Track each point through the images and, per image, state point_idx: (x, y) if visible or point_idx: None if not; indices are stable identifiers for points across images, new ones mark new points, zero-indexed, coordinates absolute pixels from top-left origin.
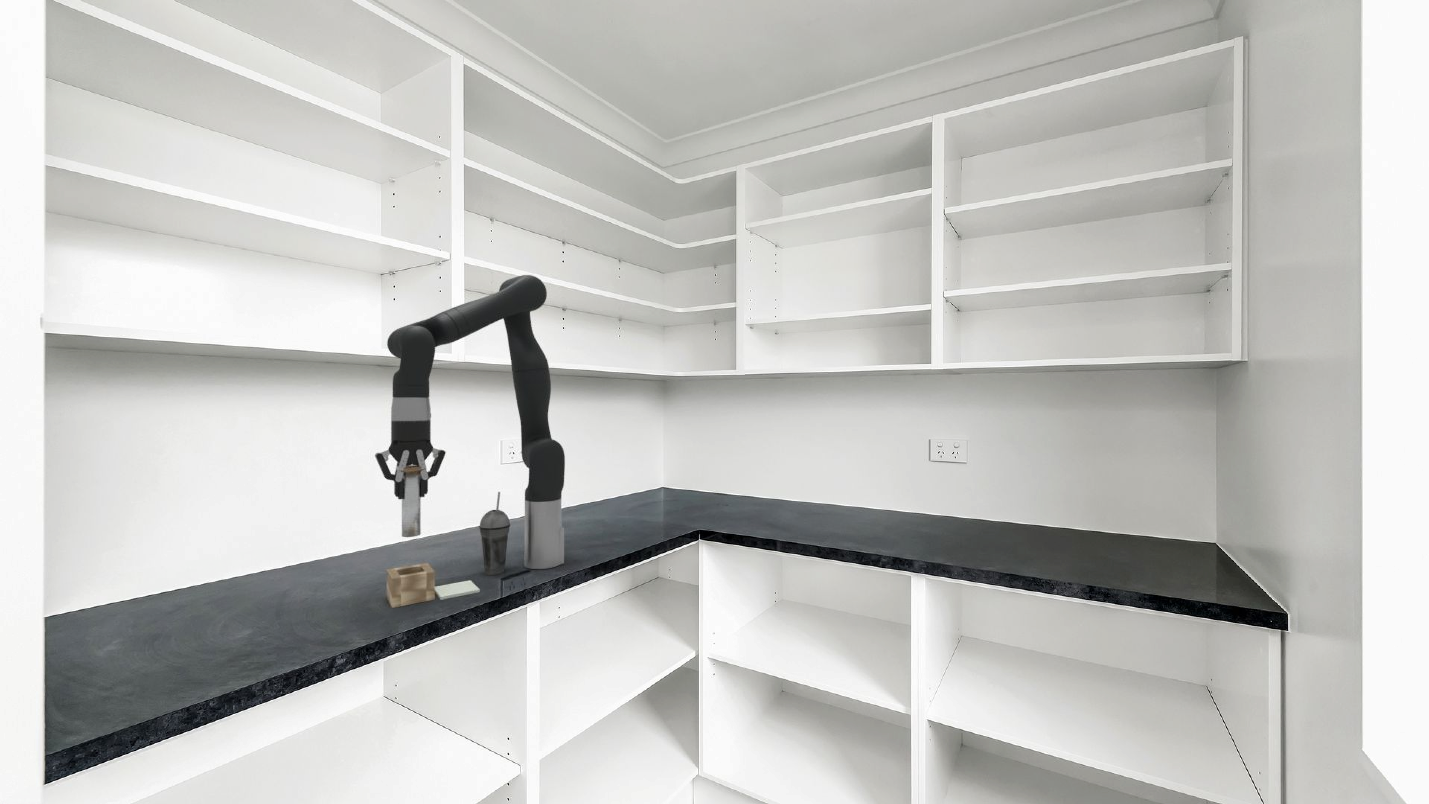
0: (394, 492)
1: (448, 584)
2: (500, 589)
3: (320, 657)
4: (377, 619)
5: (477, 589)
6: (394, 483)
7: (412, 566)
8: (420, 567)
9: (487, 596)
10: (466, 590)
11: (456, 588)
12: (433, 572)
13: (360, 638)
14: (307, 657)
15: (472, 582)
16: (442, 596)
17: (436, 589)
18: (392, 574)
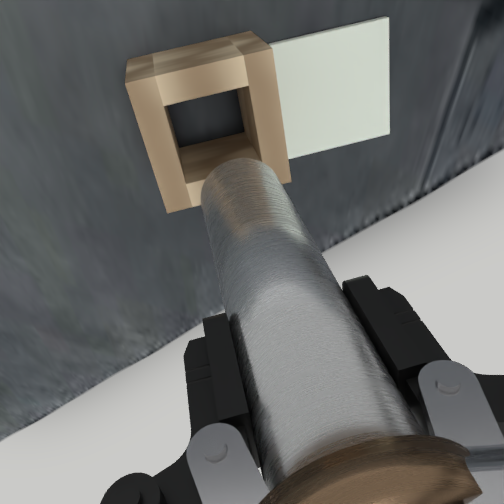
0: (186, 369)
1: (318, 36)
2: (438, 128)
3: (82, 380)
4: (141, 241)
5: (384, 131)
6: (192, 430)
7: (218, 78)
8: (246, 85)
9: (394, 173)
10: (356, 128)
11: (335, 95)
12: (287, 182)
13: (130, 327)
14: (58, 376)
15: (388, 49)
16: (291, 156)
17: (279, 79)
18: (159, 162)
